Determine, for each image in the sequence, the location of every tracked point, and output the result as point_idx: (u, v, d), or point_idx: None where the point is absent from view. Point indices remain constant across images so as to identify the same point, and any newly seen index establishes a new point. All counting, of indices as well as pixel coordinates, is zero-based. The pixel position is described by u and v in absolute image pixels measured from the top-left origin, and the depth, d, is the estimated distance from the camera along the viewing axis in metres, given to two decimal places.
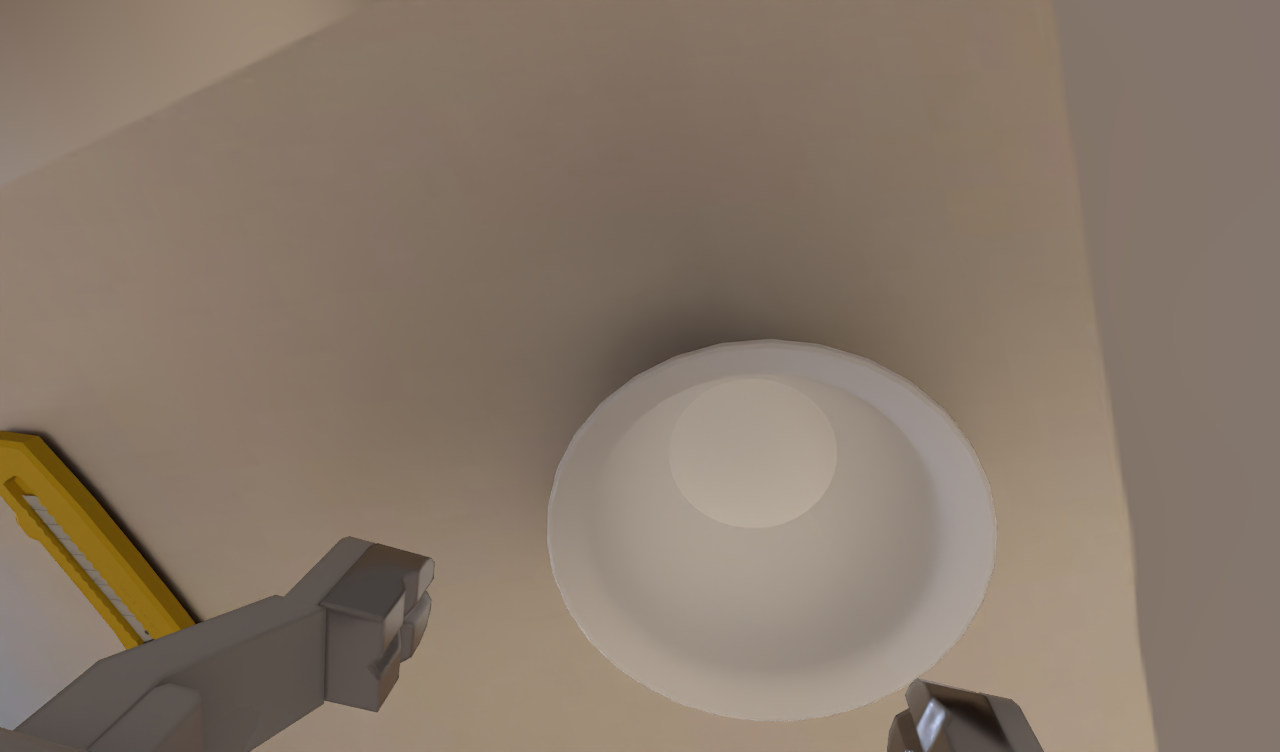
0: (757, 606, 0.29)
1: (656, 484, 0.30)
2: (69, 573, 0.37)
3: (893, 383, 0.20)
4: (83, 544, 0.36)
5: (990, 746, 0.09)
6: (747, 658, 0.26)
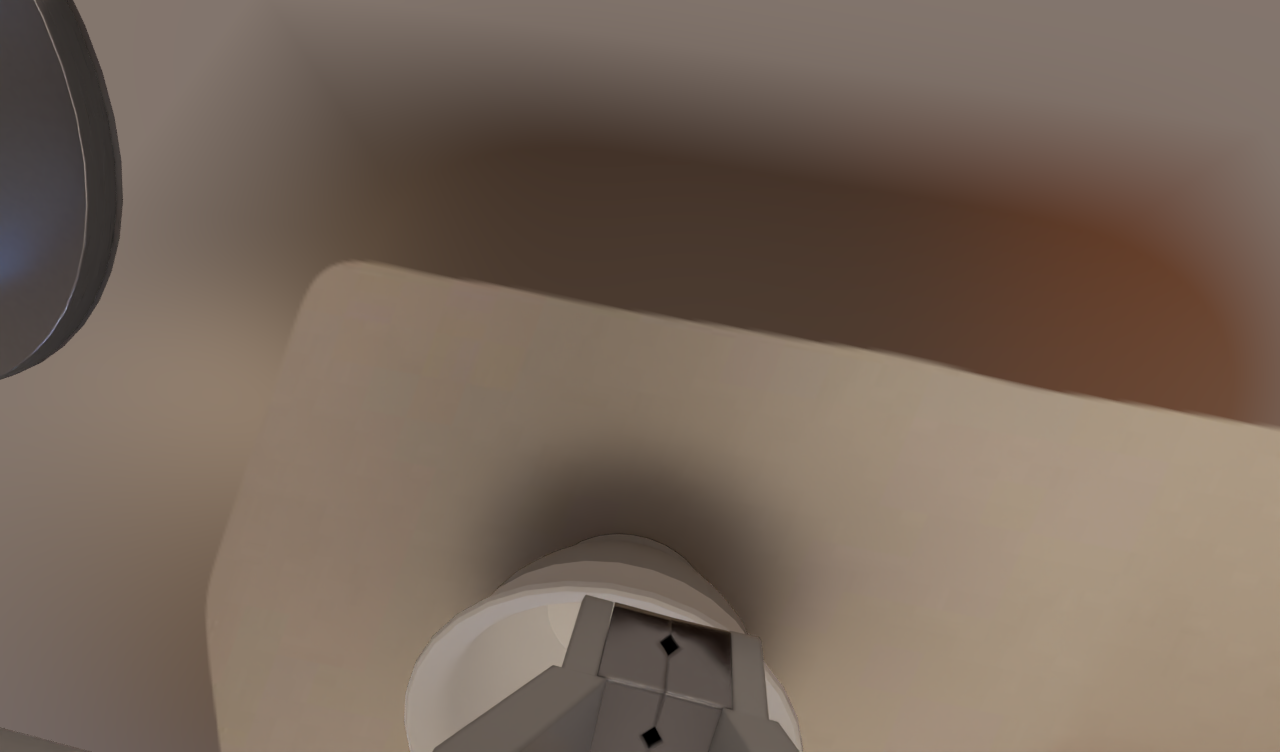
0: None
1: None
2: None
3: (482, 611, 0.23)
4: None
5: (709, 676, 0.09)
6: None
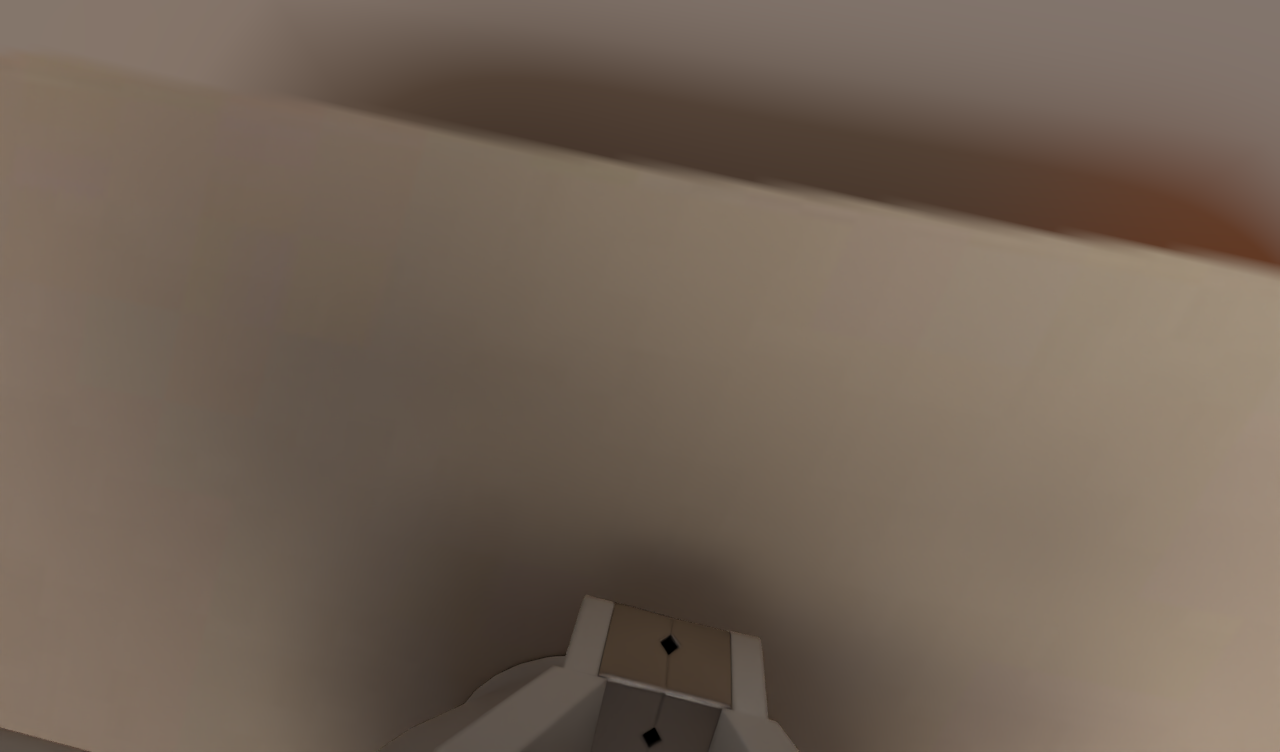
0: None
1: None
2: None
3: None
4: None
5: (709, 676, 0.09)
6: None
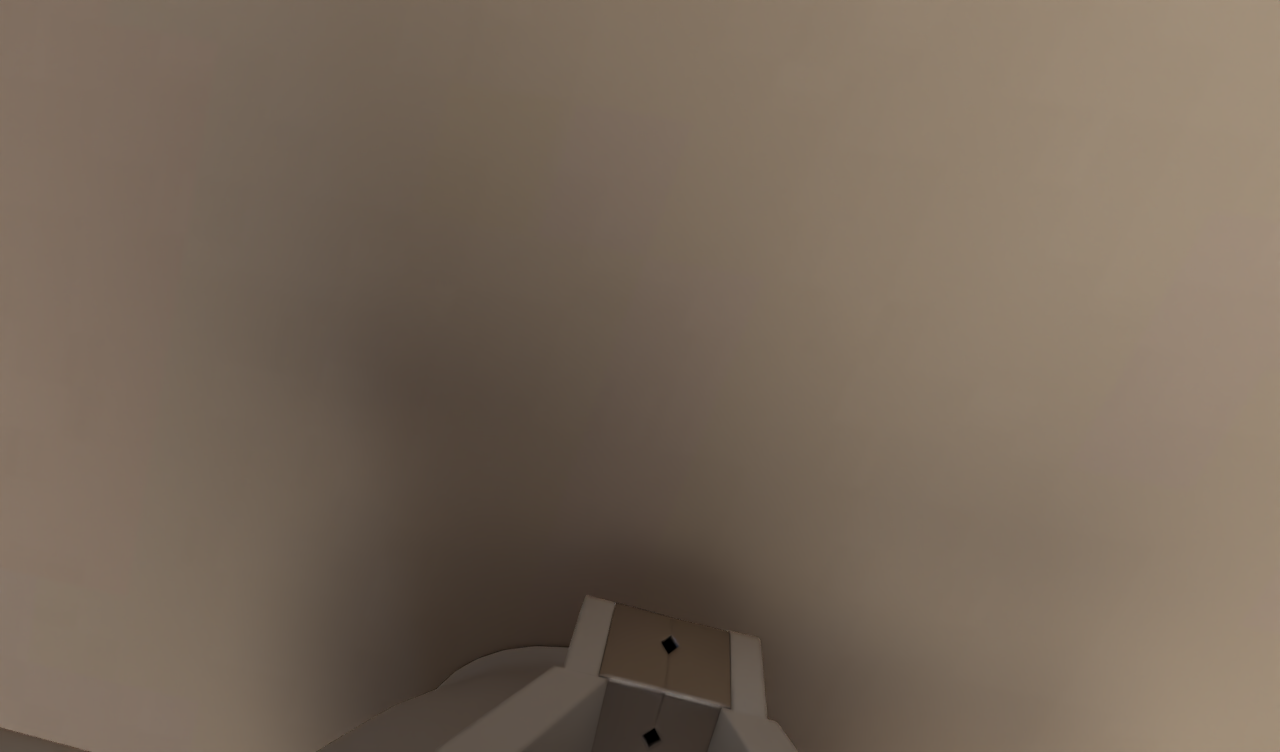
0: None
1: None
2: None
3: None
4: None
5: (708, 675, 0.09)
6: None
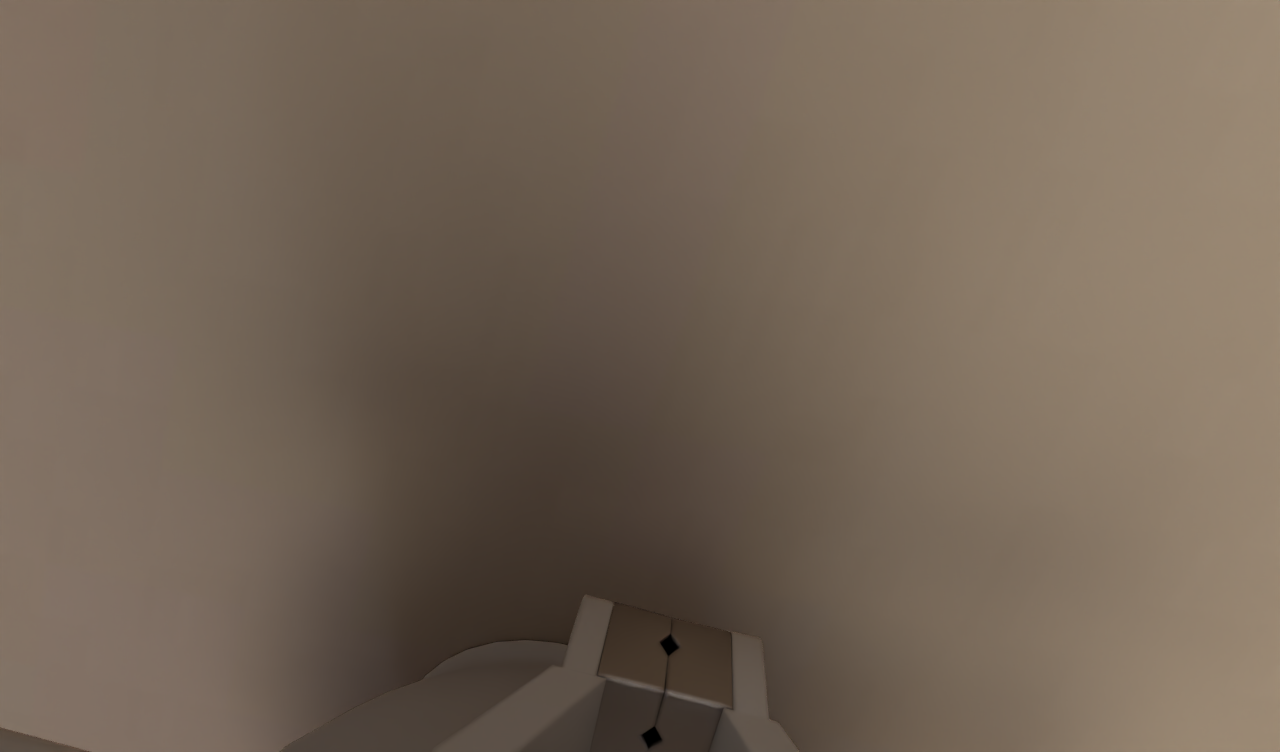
0: None
1: None
2: None
3: None
4: None
5: (710, 676, 0.09)
6: None
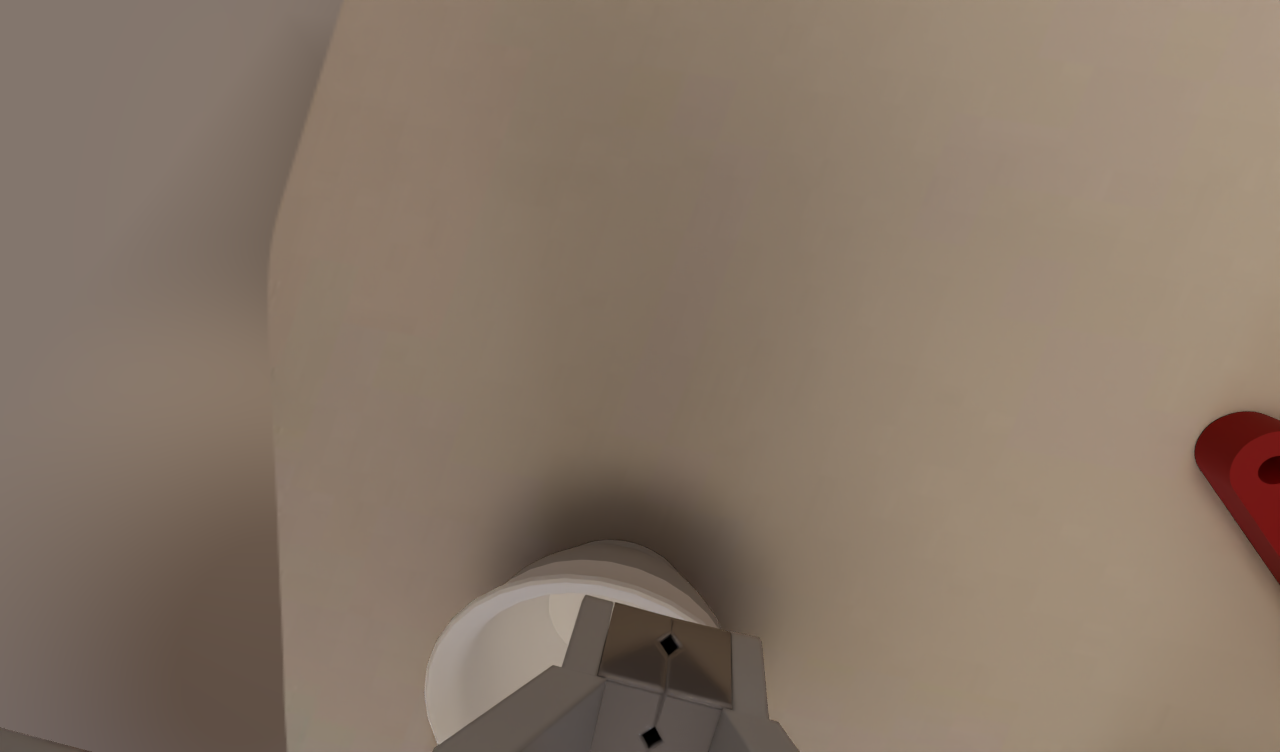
0: None
1: None
2: None
3: (523, 588, 0.27)
4: None
5: (710, 676, 0.09)
6: None
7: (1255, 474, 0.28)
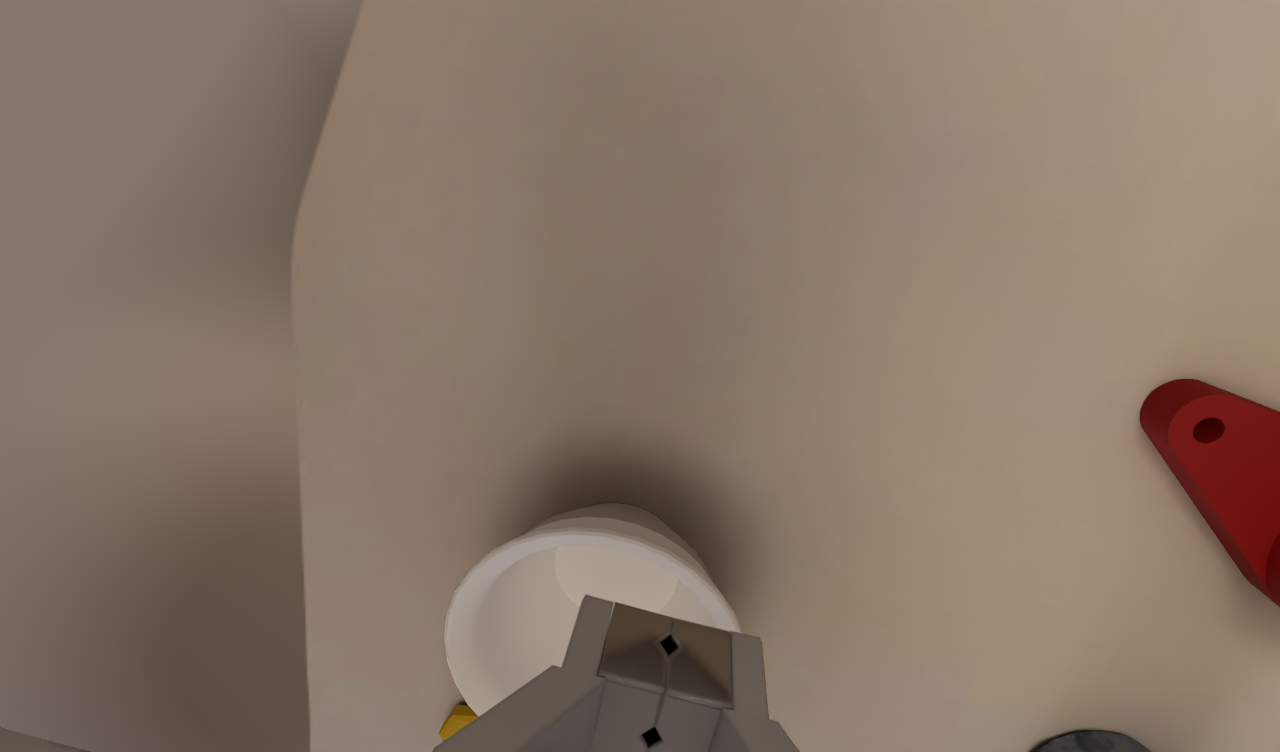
0: None
1: None
2: None
3: (534, 540, 0.30)
4: None
5: (709, 676, 0.09)
6: None
7: (1190, 434, 0.31)
